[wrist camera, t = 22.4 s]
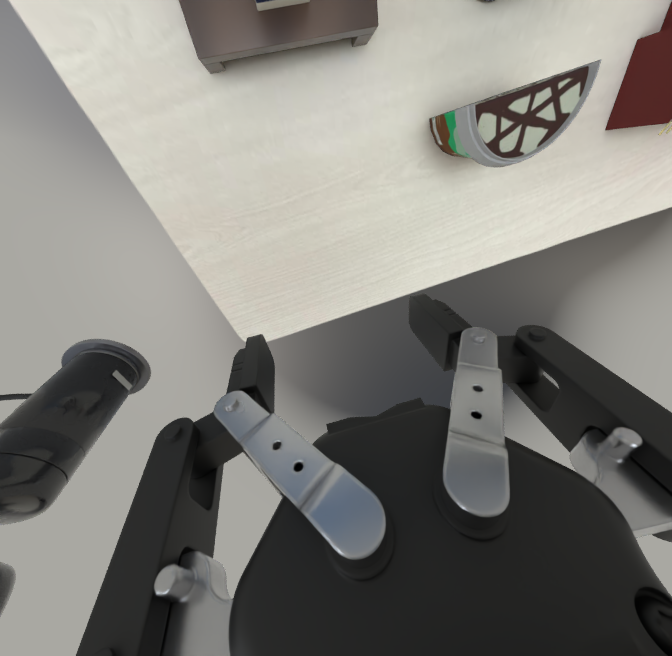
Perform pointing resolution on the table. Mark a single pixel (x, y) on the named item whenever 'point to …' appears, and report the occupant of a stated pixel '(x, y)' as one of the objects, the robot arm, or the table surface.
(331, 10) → the walnut shelf
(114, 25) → the table surface
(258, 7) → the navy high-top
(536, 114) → the food container
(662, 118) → the toy houses
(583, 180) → the table surface
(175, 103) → the table surface
